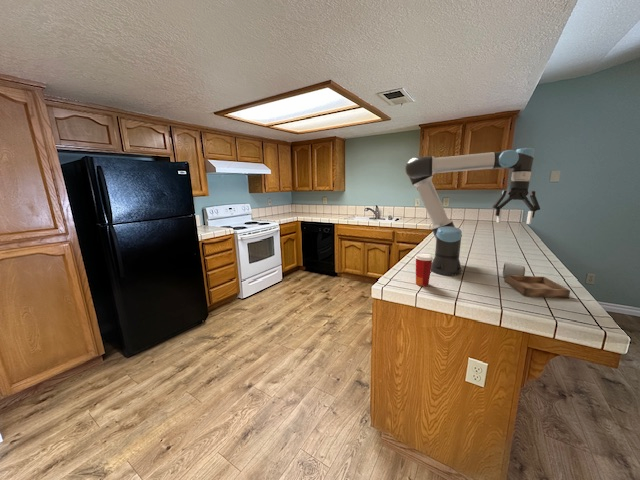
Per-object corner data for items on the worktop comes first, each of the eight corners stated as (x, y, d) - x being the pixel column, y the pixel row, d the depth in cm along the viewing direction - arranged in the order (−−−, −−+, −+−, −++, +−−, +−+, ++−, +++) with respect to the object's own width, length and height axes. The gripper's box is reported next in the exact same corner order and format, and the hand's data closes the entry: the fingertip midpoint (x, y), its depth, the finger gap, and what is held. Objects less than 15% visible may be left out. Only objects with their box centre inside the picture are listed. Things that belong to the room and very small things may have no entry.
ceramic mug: (524, 282, 121) (526, 266, 119) (503, 279, 125) (505, 264, 123) (520, 275, 130) (522, 261, 128) (501, 273, 134) (503, 259, 132)
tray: (524, 296, 107) (525, 288, 106) (504, 281, 122) (505, 274, 121) (568, 298, 104) (570, 290, 103) (542, 283, 119) (544, 276, 118)
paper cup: (430, 281, 123) (432, 254, 120) (431, 288, 116) (433, 258, 113) (413, 280, 126) (414, 252, 123) (413, 286, 119) (415, 257, 116)
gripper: (495, 180, 127) (488, 222, 131) (554, 181, 121) (546, 225, 125) (489, 180, 135) (483, 221, 138) (545, 182, 129) (537, 223, 132)
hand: (513, 223), depth 132 cm, fingers open, 13 cm apart
